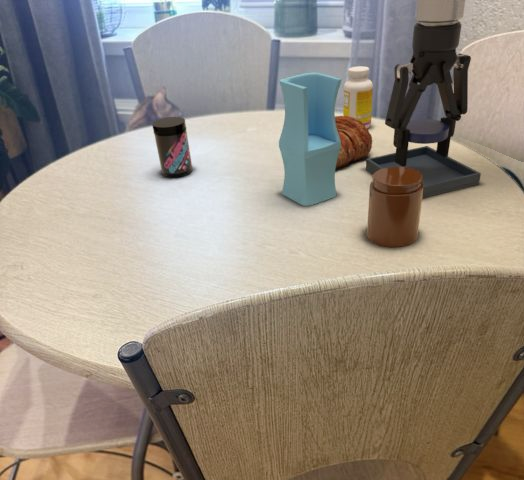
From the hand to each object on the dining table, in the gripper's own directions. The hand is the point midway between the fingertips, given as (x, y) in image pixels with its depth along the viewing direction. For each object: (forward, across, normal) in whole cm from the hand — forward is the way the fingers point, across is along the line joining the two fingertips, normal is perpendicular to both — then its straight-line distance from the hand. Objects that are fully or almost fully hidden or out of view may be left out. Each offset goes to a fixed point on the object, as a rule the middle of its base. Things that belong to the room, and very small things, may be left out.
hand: (421, 159), depth 101 cm
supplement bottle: (+4, -4, -33) cm, 33 cm away
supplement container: (+4, +42, -28) cm, 51 cm away
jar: (+3, +17, +18) cm, 25 cm away
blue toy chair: (+4, +22, -3) cm, 22 cm away
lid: (-6, 0, 0) cm, 6 cm away
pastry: (+4, +8, -18) cm, 20 cm away
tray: (+3, 0, 0) cm, 3 cm away
